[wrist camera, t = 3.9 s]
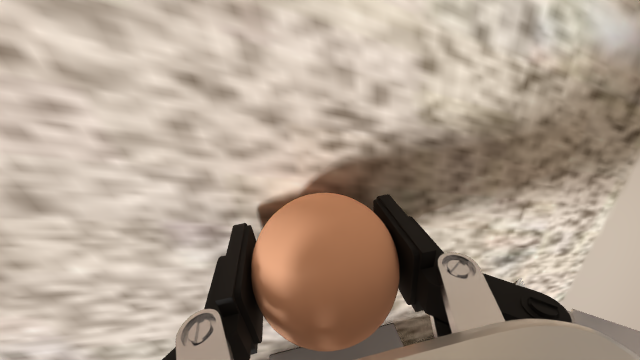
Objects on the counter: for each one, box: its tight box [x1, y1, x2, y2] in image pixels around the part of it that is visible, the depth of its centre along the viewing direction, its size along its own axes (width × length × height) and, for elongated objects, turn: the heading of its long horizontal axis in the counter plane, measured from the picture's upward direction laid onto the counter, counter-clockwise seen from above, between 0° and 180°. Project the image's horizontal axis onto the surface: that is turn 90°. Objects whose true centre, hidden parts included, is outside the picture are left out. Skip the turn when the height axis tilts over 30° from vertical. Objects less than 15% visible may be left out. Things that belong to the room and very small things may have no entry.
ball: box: [251, 193, 399, 351], centre depth 10 cm, size 6×6×6 cm
